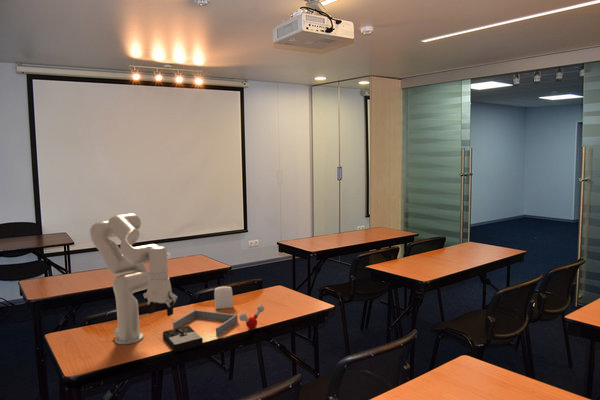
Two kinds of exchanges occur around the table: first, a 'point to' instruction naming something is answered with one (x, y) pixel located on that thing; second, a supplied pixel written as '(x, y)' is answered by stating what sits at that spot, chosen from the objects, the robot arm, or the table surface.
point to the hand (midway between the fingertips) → (161, 314)
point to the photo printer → (223, 297)
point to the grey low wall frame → (228, 318)
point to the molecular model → (251, 321)
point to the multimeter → (182, 338)
